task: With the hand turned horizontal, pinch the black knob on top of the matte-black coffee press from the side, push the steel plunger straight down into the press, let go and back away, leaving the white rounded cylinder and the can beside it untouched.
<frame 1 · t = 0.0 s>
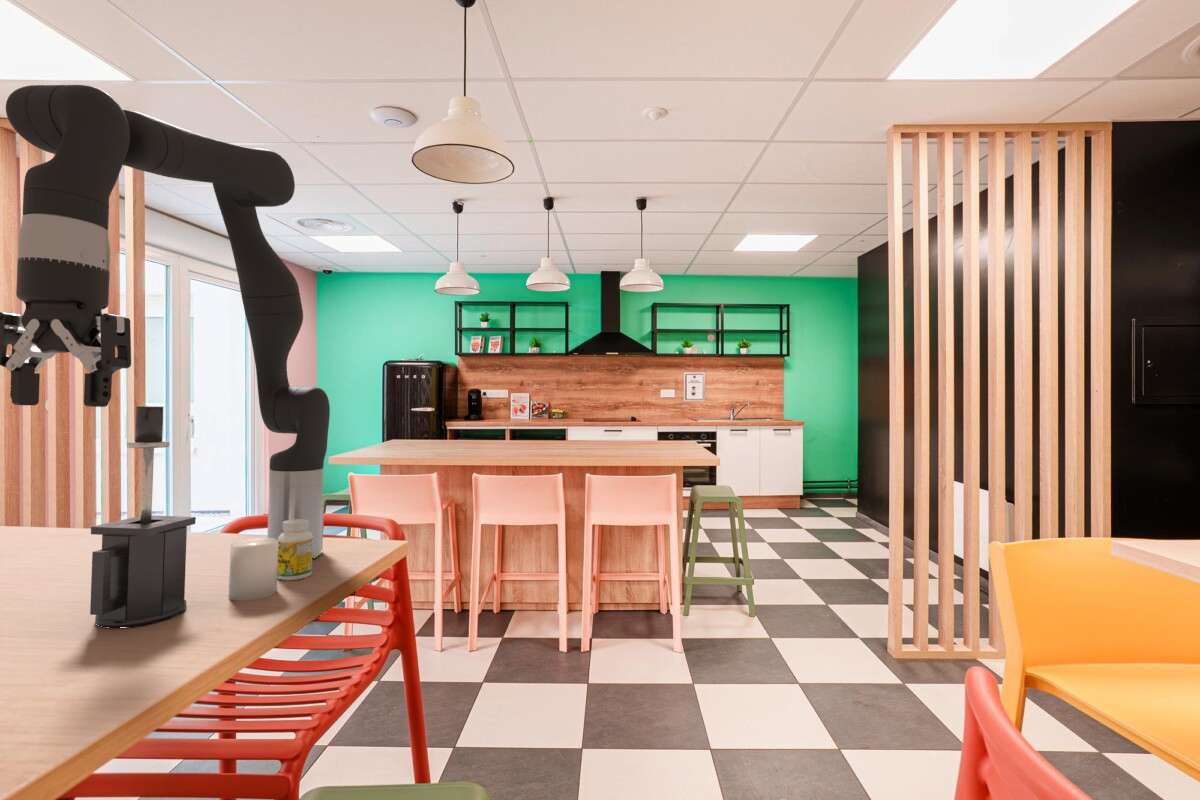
hand: (60, 406, 62), 29 cm above the table, tool pointing down, fingers open, 8 cm apart
white rounded cylinder: (253, 593, 86), on the table
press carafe: (142, 614, 77), on the table
supplement bottle: (294, 577, 95), on the table
plunger: (147, 481, 77), point 19 cm above the table, slide at 0.0 cm
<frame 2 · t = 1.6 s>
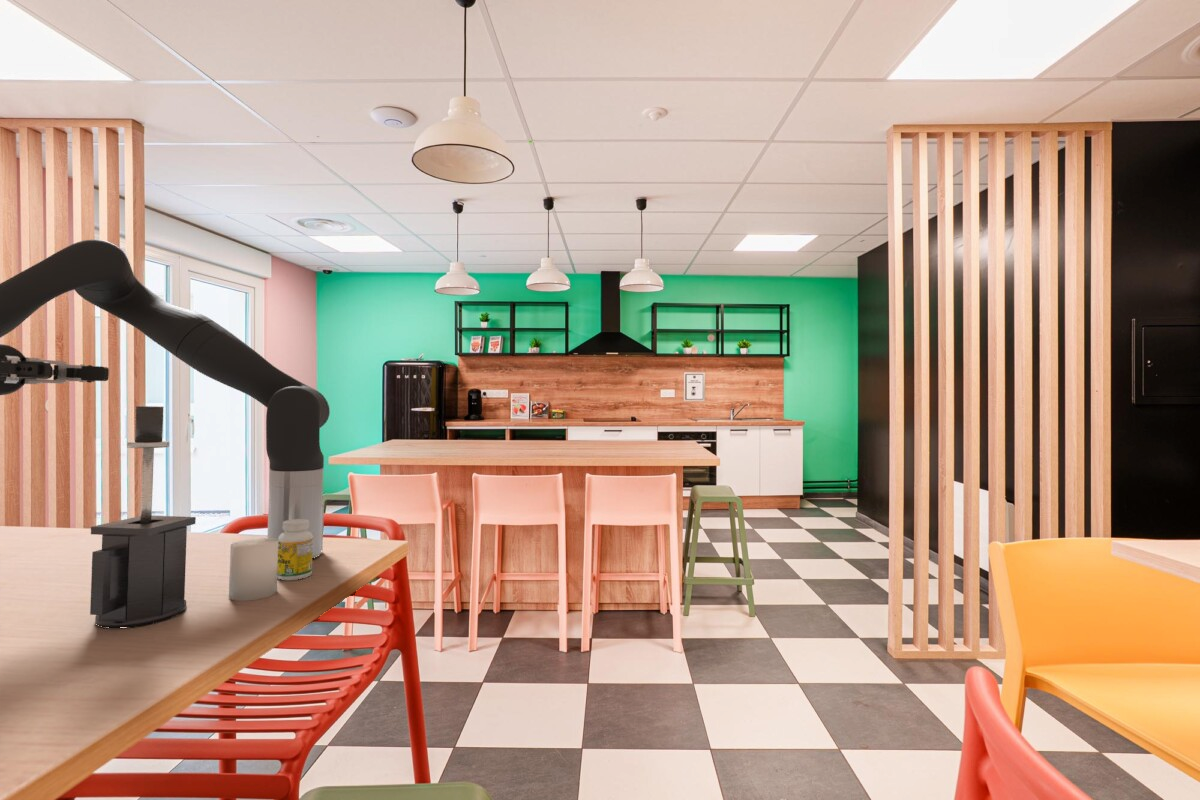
hand: (79, 372, 80), 34 cm above the table, tool horizontal, fingers open, 8 cm apart
nothing on the table moved.
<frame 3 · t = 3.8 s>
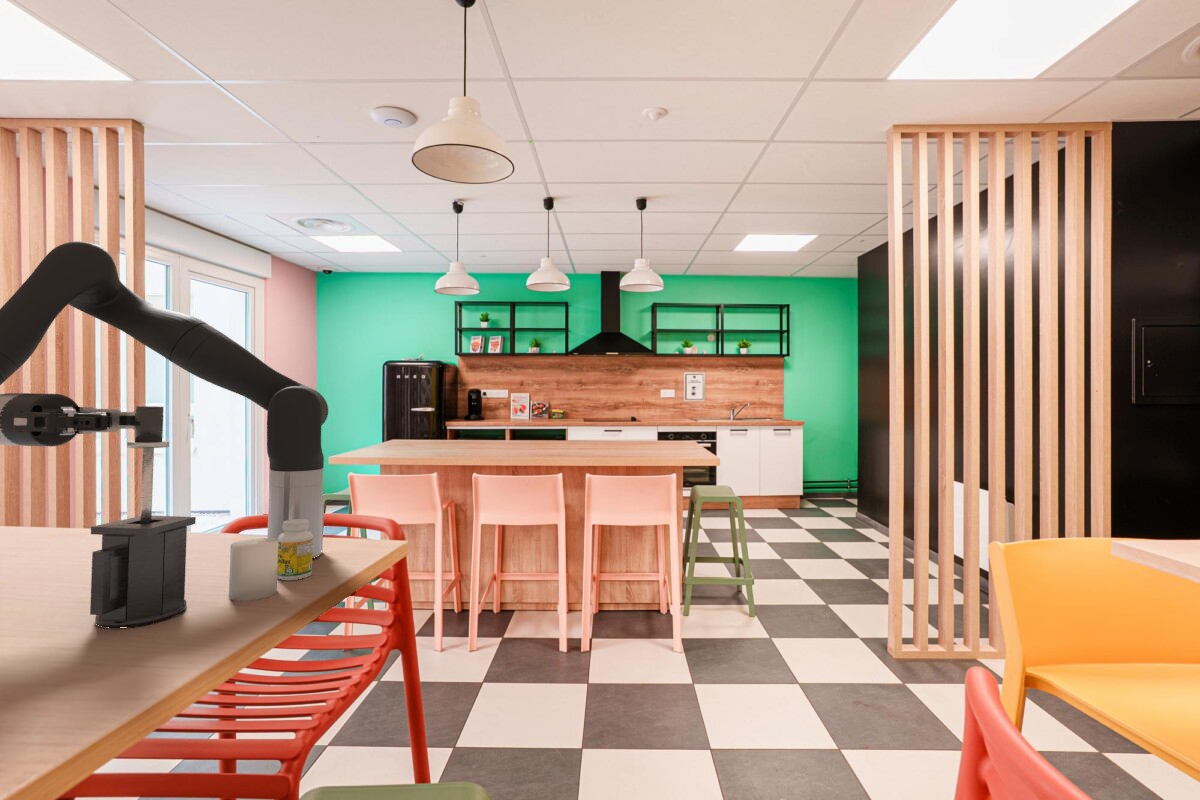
hand: (134, 421, 77), 27 cm above the table, tool horizontal, fingers open, 8 cm apart
nothing on the table moved.
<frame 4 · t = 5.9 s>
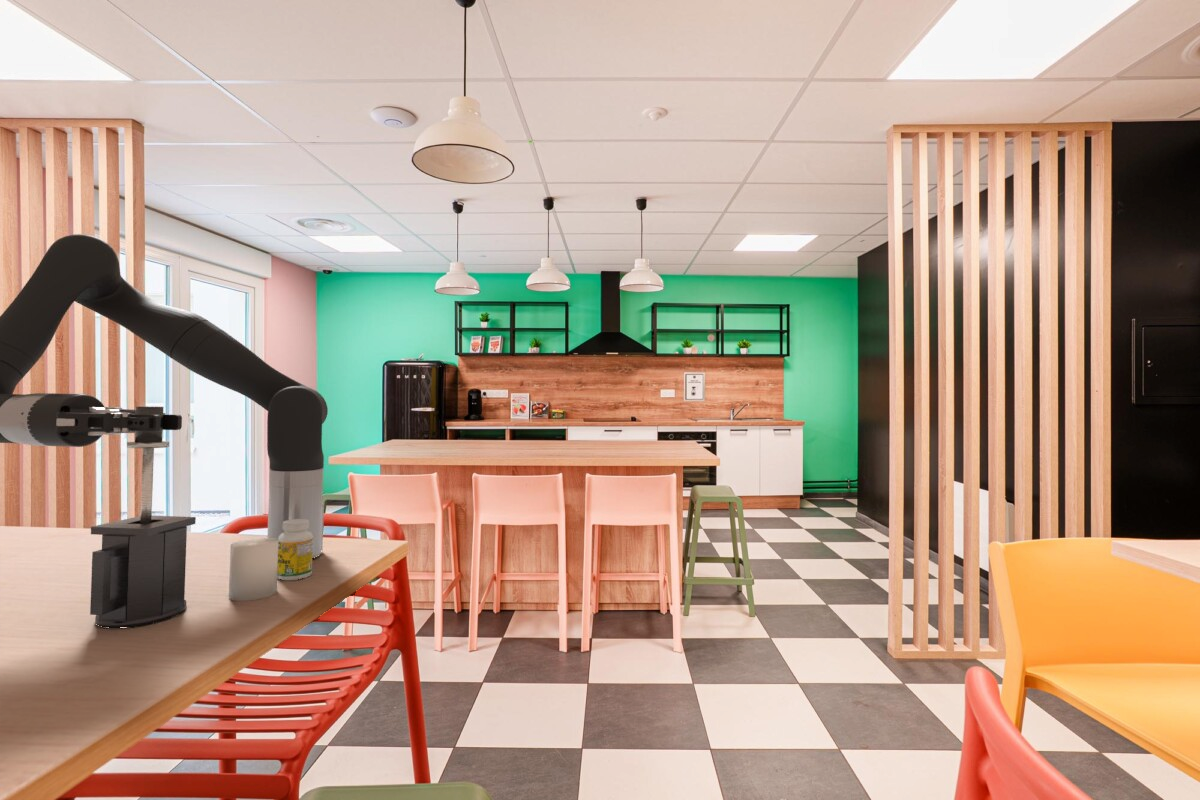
hand: (168, 422, 77), 27 cm above the table, tool horizontal, fingers closed on plunger, 3 cm apart
plunger: (147, 481, 77), point 19 cm above the table, slide at 0.0 cm, touching gripper
everything else where it was.
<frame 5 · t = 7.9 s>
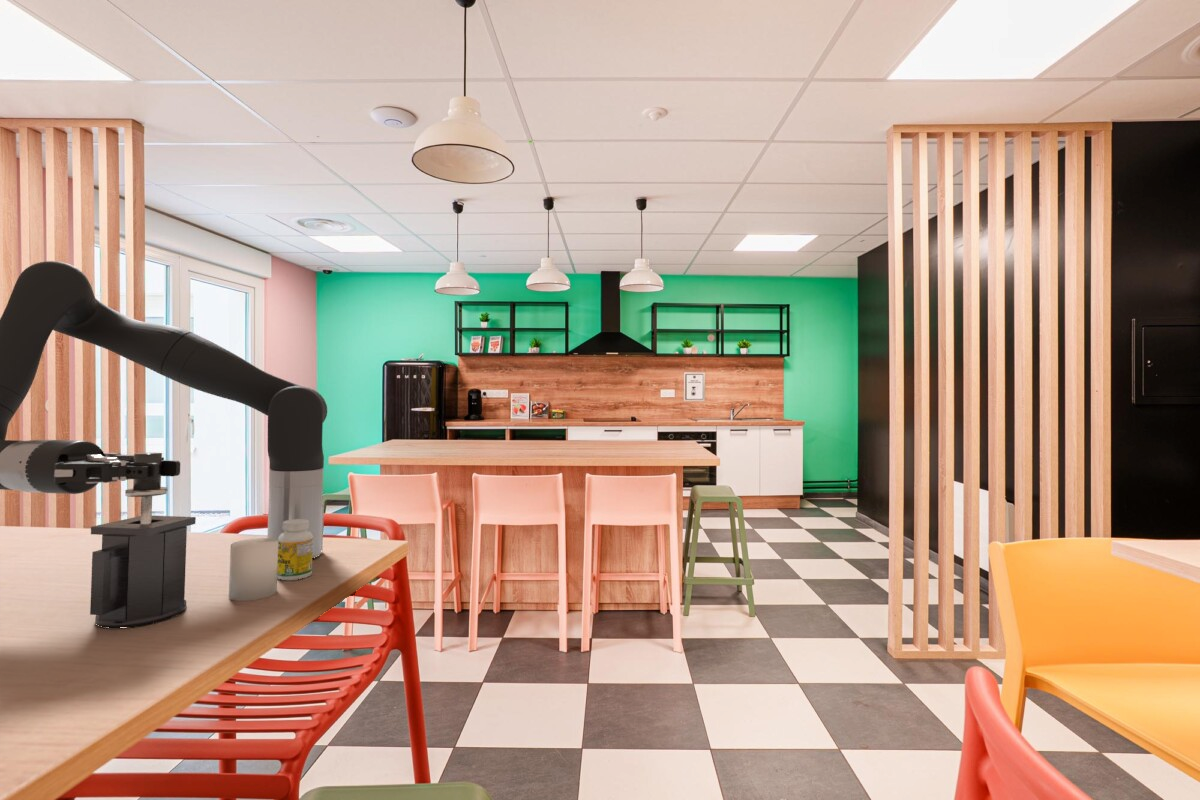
hand: (167, 469, 77), 20 cm above the table, tool horizontal, fingers closed on plunger, 3 cm apart
plunger: (145, 528, 77), point 12 cm above the table, slide at 6.6 cm, touching gripper
everything else where it was.
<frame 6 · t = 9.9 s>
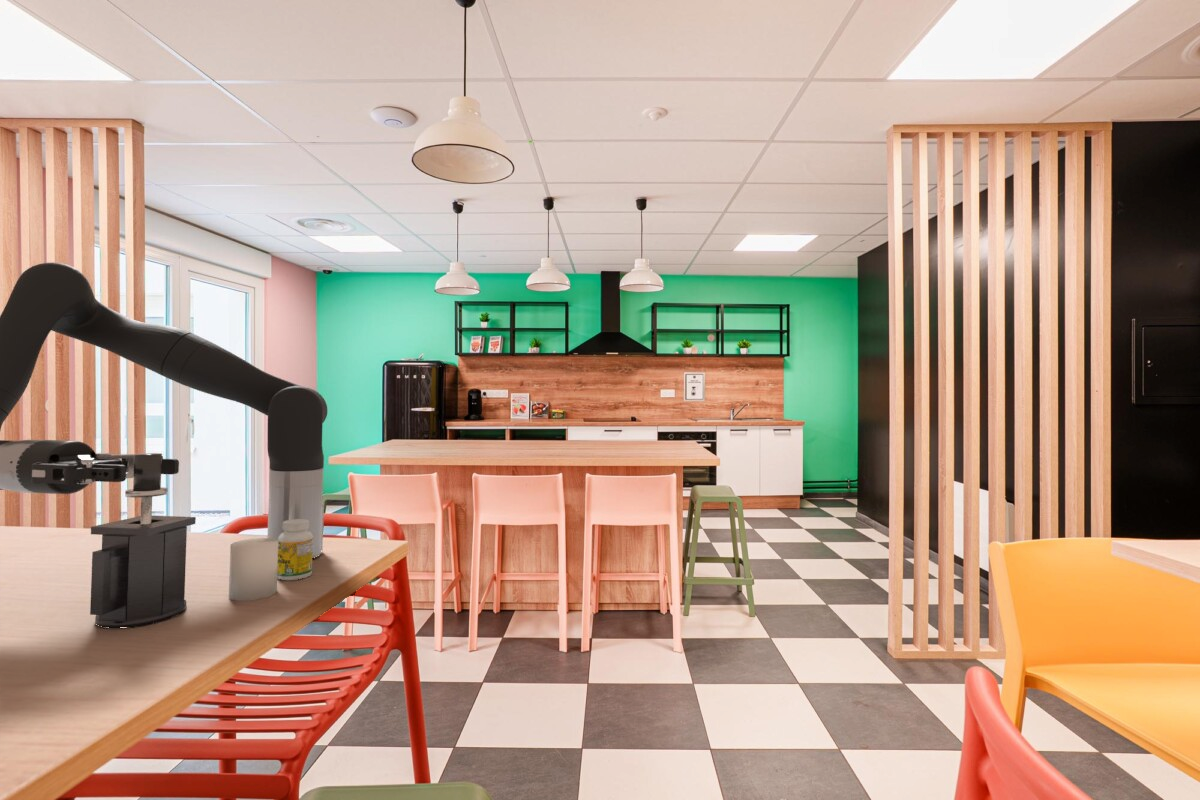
hand: (151, 470, 77), 20 cm above the table, tool horizontal, fingers open, 8 cm apart
plunger: (145, 528, 77), point 12 cm above the table, slide at 6.7 cm
everything else where it was.
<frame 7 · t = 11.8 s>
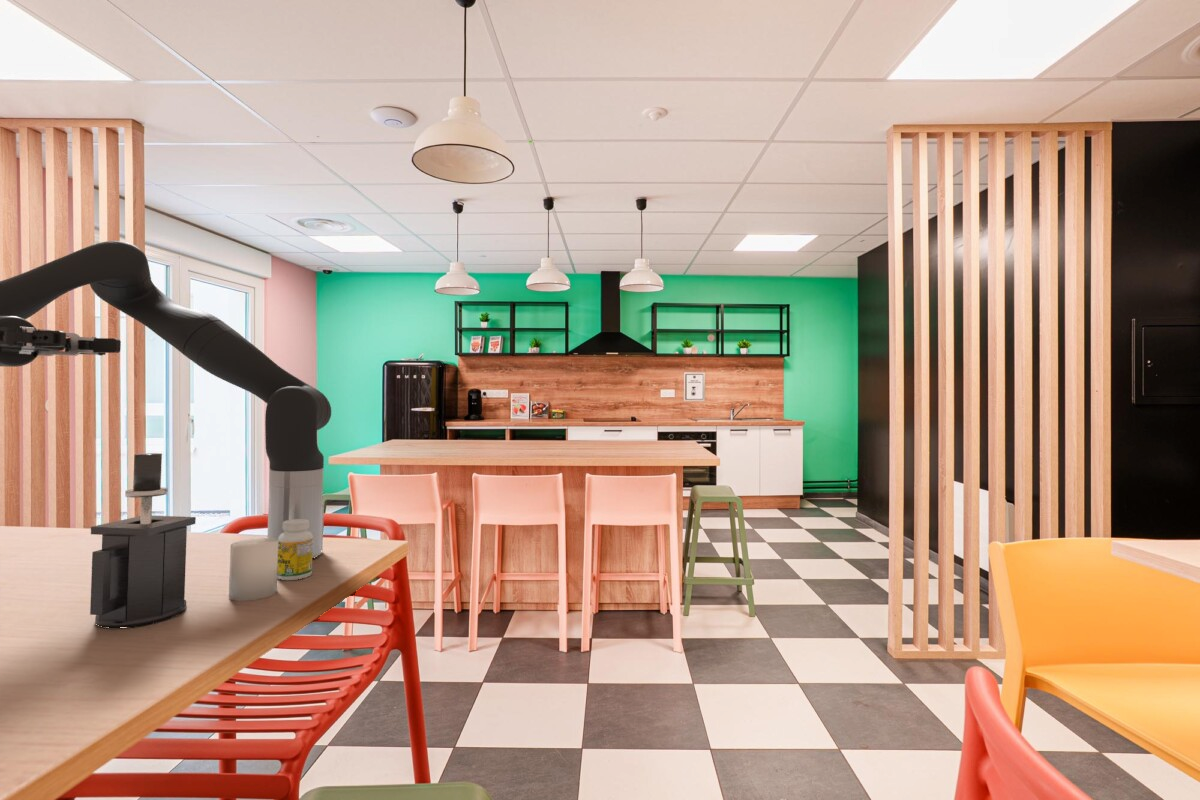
hand: (92, 342, 81), 38 cm above the table, tool horizontal, fingers open, 8 cm apart
nothing on the table moved.
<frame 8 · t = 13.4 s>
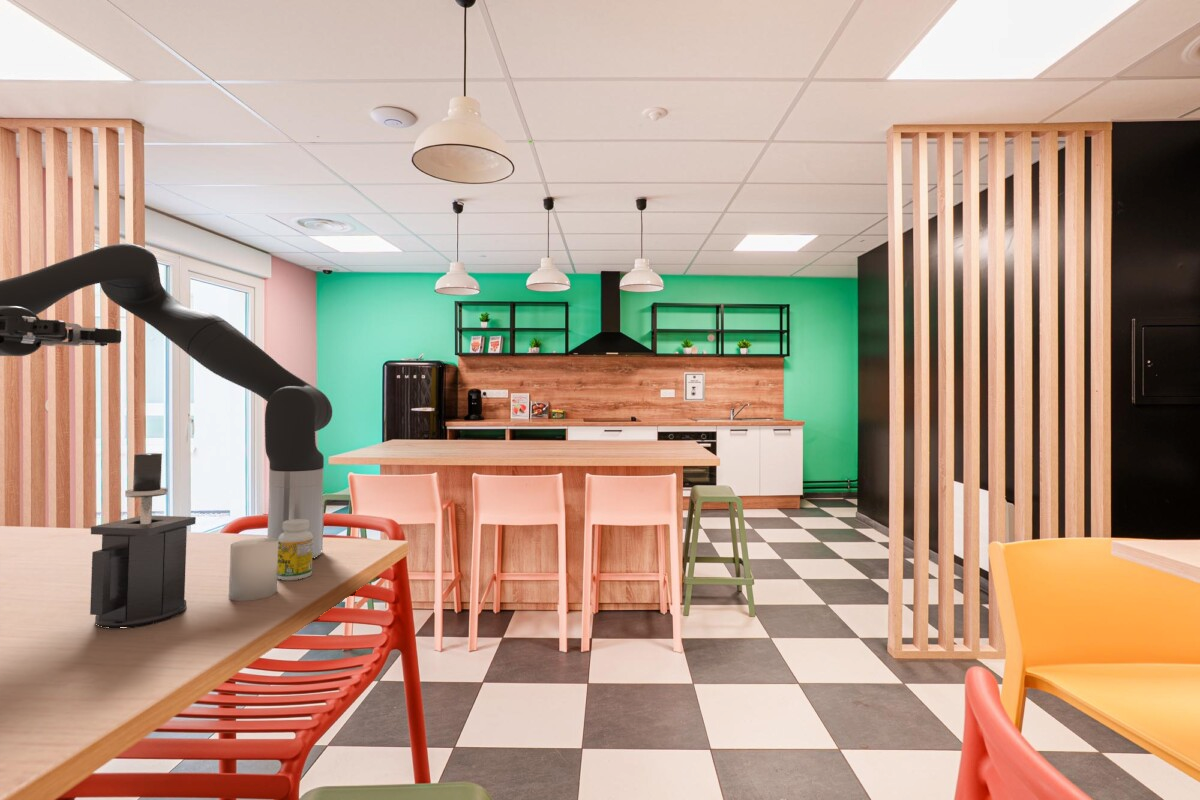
hand: (92, 332, 82), 40 cm above the table, tool horizontal, fingers open, 8 cm apart
nothing on the table moved.
at the end: plunger slide at 6.7 cm; the gripper is holding nothing; white rounded cylinder moved 0.1 cm from its start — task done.
